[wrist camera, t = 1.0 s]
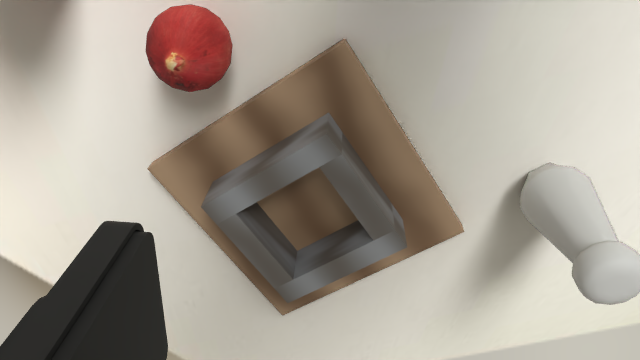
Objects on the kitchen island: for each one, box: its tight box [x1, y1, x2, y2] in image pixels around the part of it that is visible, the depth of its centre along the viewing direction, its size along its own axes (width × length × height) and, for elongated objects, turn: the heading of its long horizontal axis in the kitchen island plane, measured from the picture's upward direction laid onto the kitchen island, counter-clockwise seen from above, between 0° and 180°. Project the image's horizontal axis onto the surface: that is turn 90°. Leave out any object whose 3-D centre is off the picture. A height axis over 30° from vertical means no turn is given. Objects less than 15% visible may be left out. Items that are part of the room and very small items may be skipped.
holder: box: [148, 38, 464, 315], centre depth 42 cm, size 20×20×5 cm
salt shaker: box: [520, 163, 640, 305], centre depth 37 cm, size 6×6×13 cm
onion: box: [146, 5, 232, 92], centre depth 35 cm, size 6×6×8 cm
